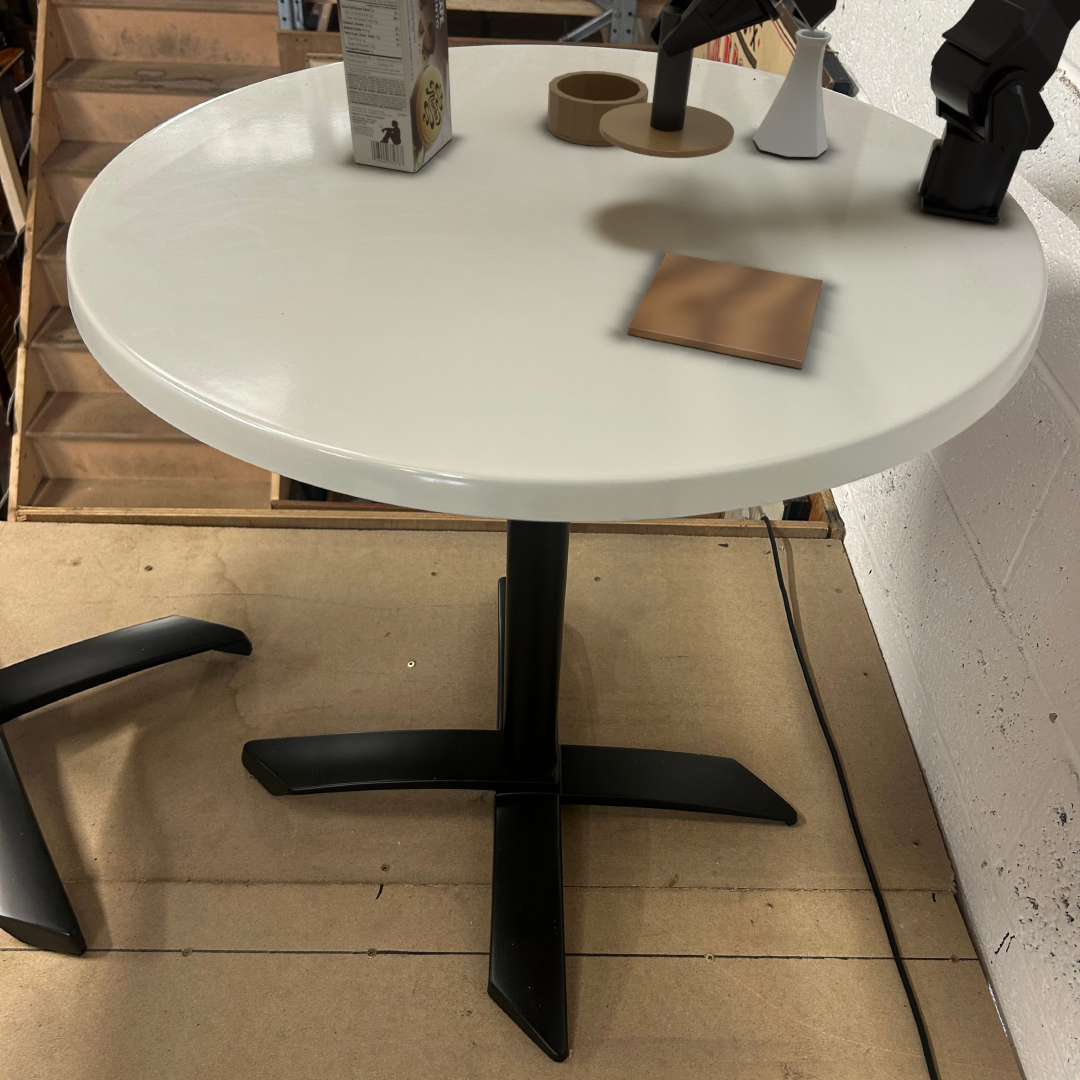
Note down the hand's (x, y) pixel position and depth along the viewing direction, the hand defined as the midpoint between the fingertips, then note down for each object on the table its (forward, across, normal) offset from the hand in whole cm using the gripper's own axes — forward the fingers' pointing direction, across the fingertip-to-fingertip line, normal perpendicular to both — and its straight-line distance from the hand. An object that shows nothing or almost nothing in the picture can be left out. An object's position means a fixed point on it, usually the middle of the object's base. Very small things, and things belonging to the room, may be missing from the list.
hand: (658, 46), depth 67 cm
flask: (-4, -15, +24) cm, 28 cm away
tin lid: (+3, 0, +5) cm, 6 cm away
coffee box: (+22, -18, -3) cm, 29 cm away
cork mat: (+8, +14, +11) cm, 20 cm away
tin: (+8, -22, +11) cm, 26 cm away
